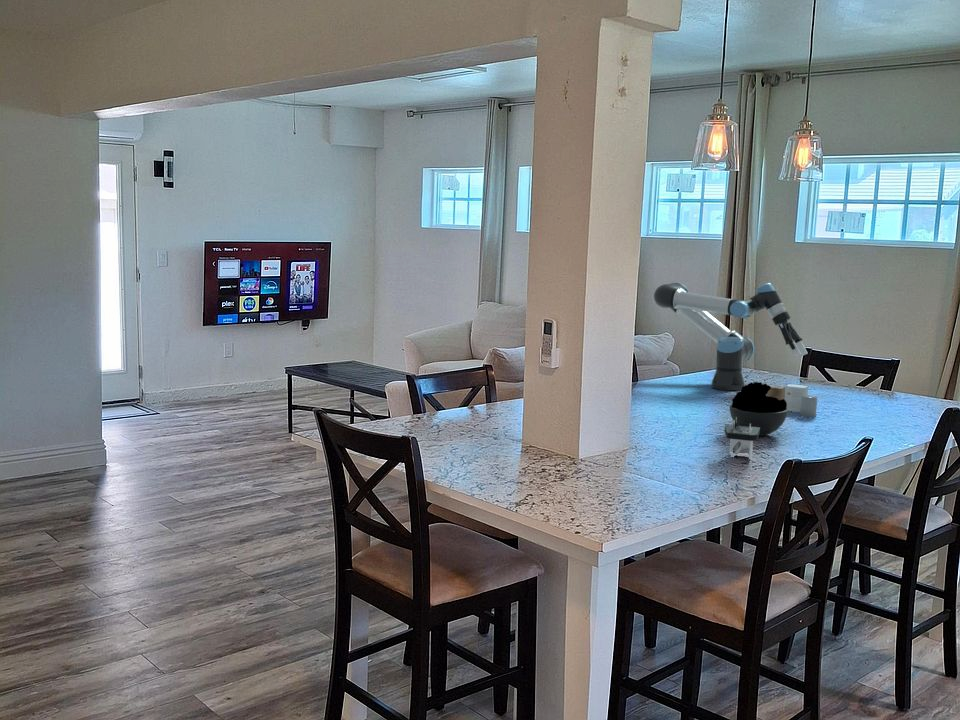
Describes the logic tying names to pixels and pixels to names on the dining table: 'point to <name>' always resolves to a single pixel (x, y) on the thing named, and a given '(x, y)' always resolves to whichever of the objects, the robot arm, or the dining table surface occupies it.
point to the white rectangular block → (808, 406)
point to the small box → (794, 396)
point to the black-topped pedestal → (741, 437)
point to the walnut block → (777, 392)
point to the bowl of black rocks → (758, 408)
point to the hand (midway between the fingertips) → (801, 355)
